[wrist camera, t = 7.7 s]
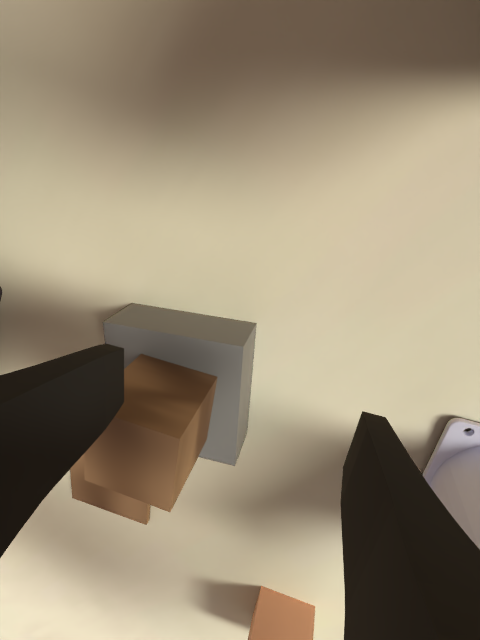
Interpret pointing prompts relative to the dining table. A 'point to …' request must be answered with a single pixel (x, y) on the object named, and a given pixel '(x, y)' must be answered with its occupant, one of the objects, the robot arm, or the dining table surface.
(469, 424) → the robot arm
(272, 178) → the dining table surface
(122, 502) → the tile
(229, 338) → the base block
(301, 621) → the terracotta block
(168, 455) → the walnut block
